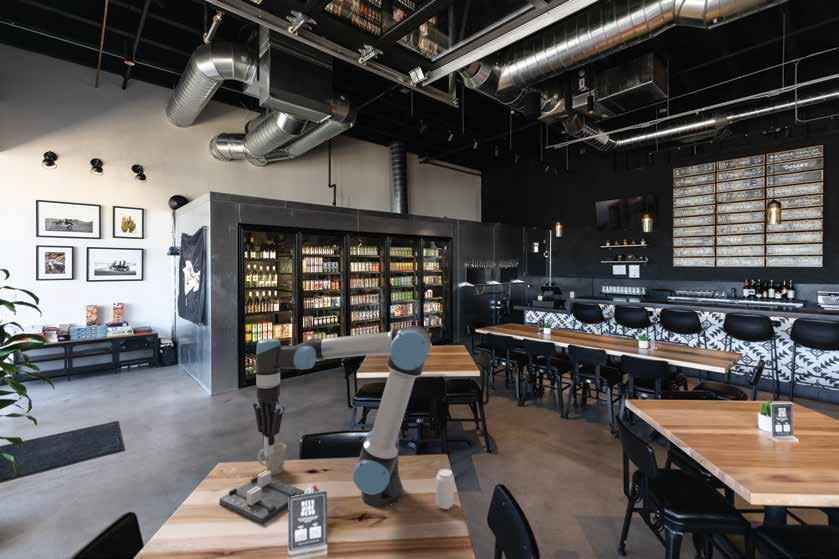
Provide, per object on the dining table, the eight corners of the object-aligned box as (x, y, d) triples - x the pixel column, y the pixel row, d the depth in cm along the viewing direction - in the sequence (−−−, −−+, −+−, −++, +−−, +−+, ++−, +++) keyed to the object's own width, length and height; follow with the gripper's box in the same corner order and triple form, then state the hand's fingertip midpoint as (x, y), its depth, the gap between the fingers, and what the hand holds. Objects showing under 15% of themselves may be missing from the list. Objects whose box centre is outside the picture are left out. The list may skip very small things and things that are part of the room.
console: (304, 496, 137) (304, 488, 137) (261, 524, 121) (262, 515, 121) (263, 479, 147) (263, 472, 147) (219, 504, 131) (219, 495, 131)
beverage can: (457, 506, 132) (457, 472, 131) (446, 514, 127) (446, 479, 127) (443, 498, 136) (444, 465, 136) (432, 506, 131) (432, 472, 131)
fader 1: (261, 499, 131) (261, 487, 131) (251, 505, 127) (251, 493, 127) (256, 497, 132) (256, 485, 132) (246, 503, 128) (246, 491, 128)
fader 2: (271, 482, 141) (271, 471, 141) (261, 487, 138) (262, 476, 138) (266, 480, 143) (266, 469, 143) (257, 485, 139) (257, 474, 139)
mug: (278, 478, 149) (278, 453, 148) (250, 474, 151) (250, 449, 151) (290, 467, 157) (290, 443, 157) (263, 464, 159) (263, 440, 159)
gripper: (290, 384, 129) (291, 453, 129) (264, 379, 135) (264, 445, 135) (273, 390, 122) (273, 463, 122) (246, 385, 128) (246, 454, 128)
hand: (268, 453), depth 129 cm, fingers closed
